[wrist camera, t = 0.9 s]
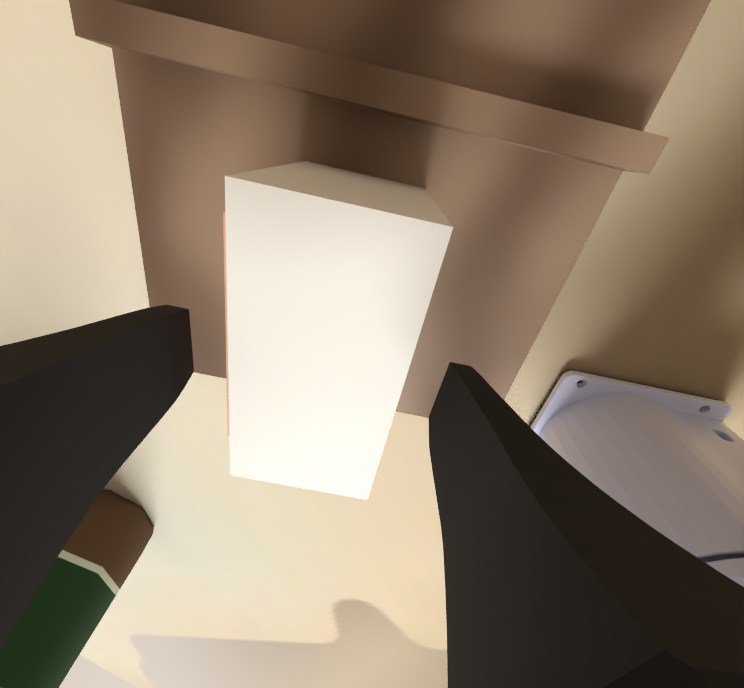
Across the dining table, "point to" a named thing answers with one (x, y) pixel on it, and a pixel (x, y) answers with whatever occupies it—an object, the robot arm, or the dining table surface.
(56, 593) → the beer bottle
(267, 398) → the label carton
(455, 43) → the shelf board
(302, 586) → the dining table surface
